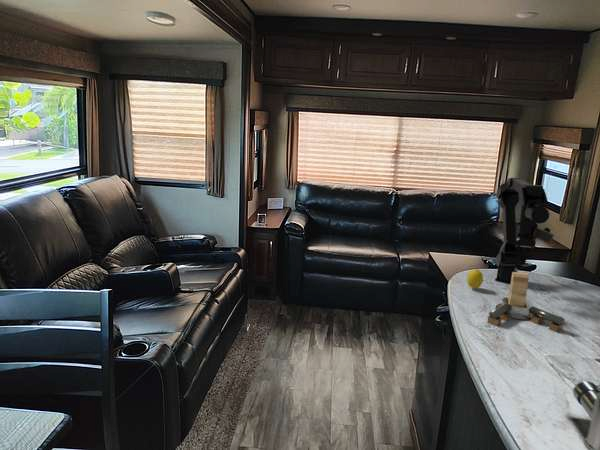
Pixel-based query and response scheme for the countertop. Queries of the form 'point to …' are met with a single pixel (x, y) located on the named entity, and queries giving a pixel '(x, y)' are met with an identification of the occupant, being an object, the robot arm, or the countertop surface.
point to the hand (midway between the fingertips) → (523, 262)
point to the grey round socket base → (517, 310)
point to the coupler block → (518, 289)
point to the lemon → (475, 278)
